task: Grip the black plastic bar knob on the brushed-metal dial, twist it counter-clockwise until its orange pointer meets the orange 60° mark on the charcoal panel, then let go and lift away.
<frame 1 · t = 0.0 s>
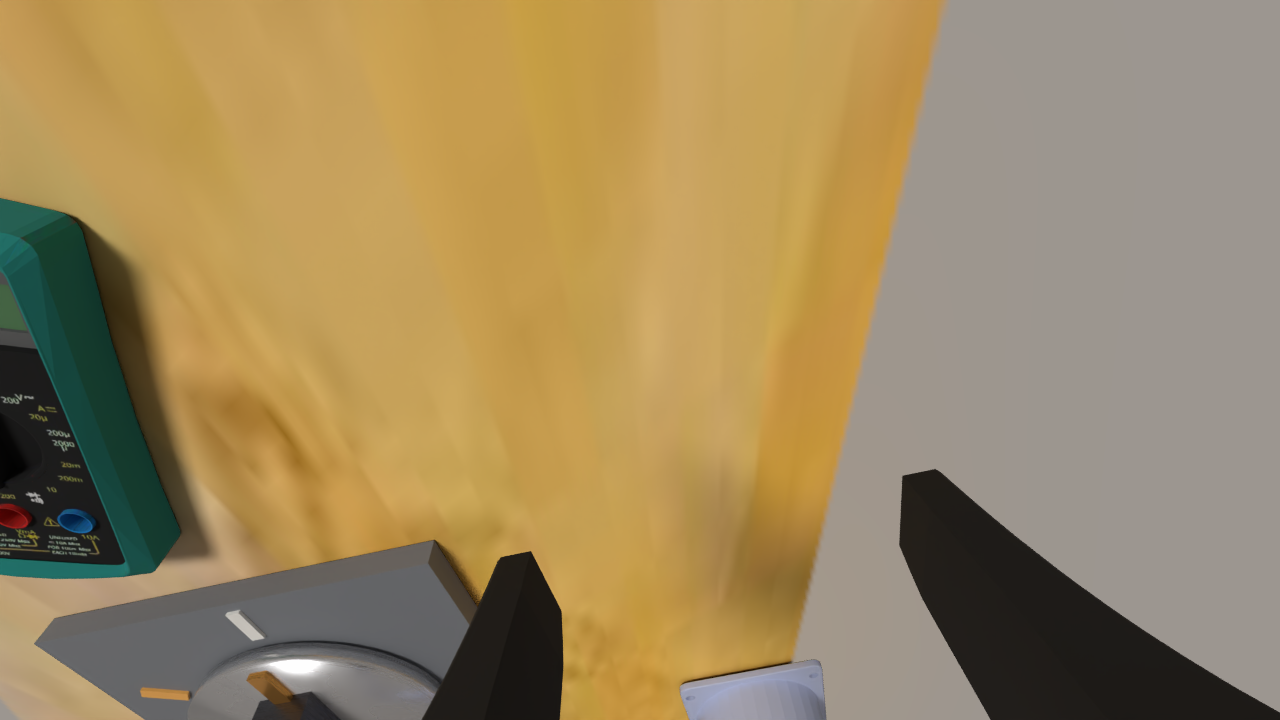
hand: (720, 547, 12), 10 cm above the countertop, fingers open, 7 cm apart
dial panel: (340, 681, 31), on the countertop
digital multimeter: (36, 381, 21), on the countertop
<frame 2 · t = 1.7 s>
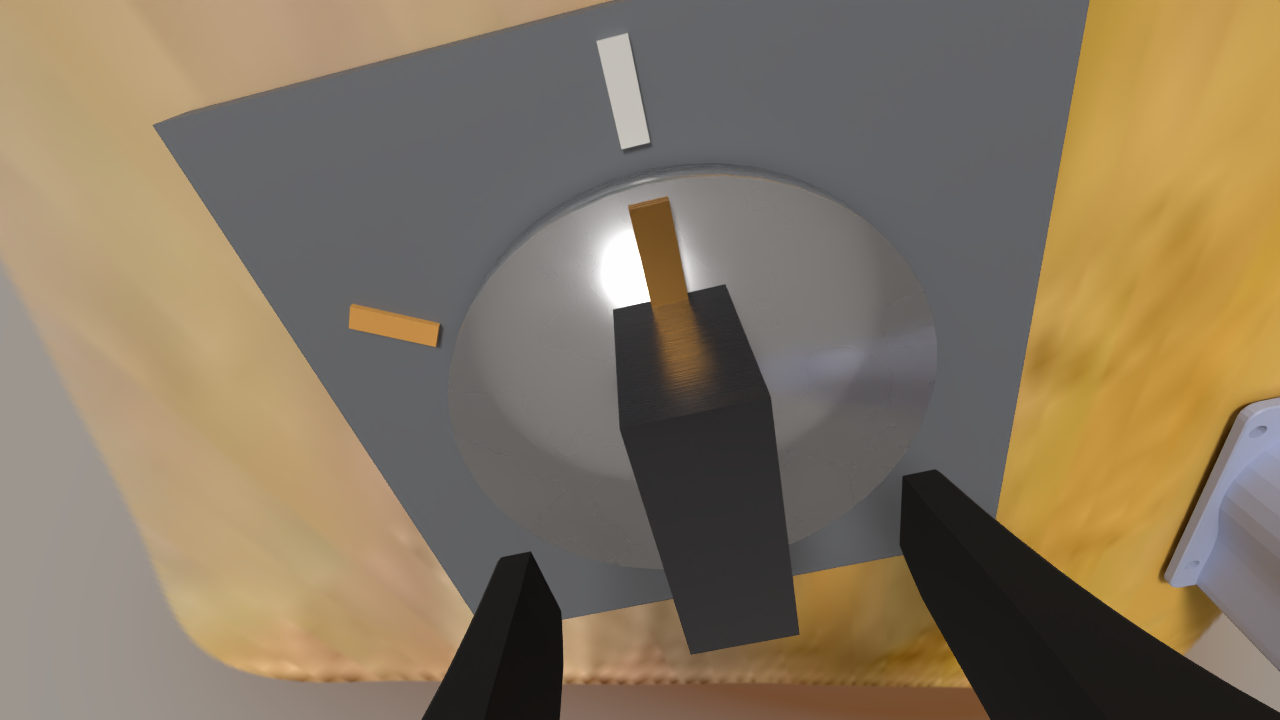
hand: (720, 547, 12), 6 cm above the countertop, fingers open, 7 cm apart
dial: (704, 459, 14), point 4 cm above the countertop, hinge at 0.0°
dial panel: (683, 363, 17), on the countertop
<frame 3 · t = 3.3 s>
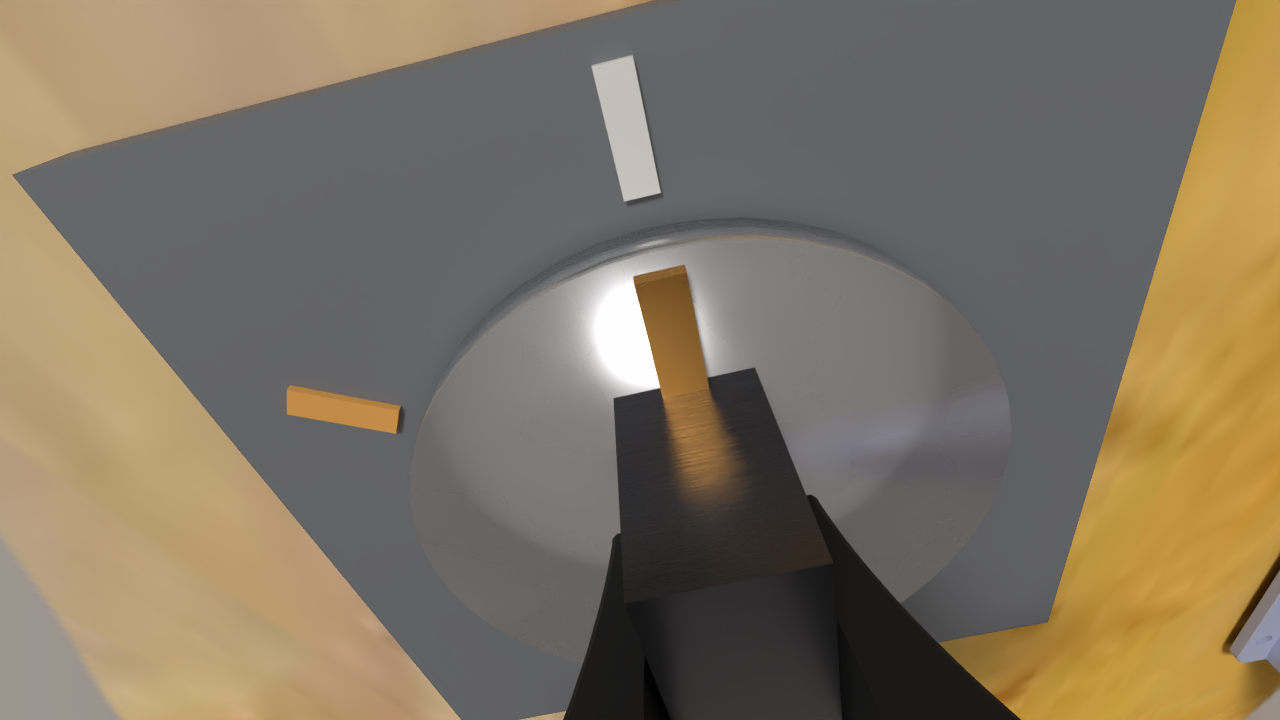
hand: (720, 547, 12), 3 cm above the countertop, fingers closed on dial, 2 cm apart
dial: (726, 578, 11), point 4 cm above the countertop, hinge at 0.0°, touching gripper
dial panel: (695, 437, 14), on the countertop
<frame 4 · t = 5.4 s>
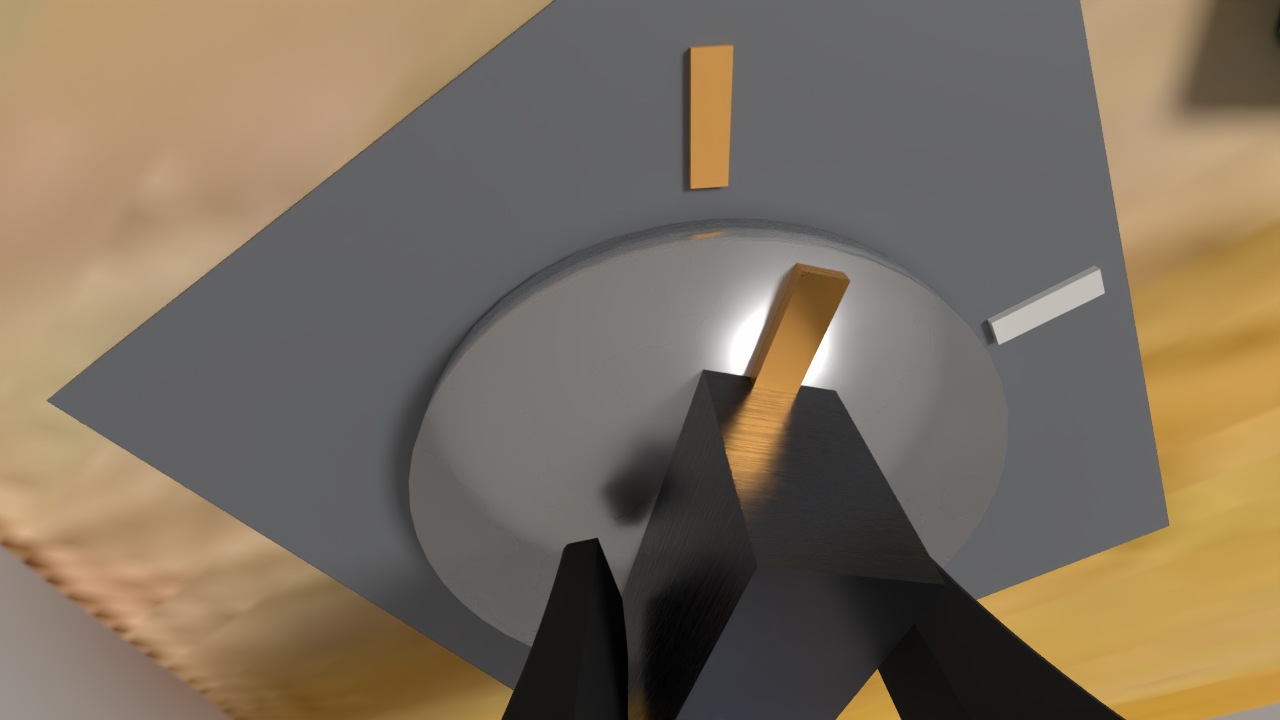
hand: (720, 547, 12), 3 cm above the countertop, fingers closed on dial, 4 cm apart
dial: (725, 577, 11), point 4 cm above the countertop, hinge at 43.9°, touching gripper
dial panel: (694, 437, 14), on the countertop
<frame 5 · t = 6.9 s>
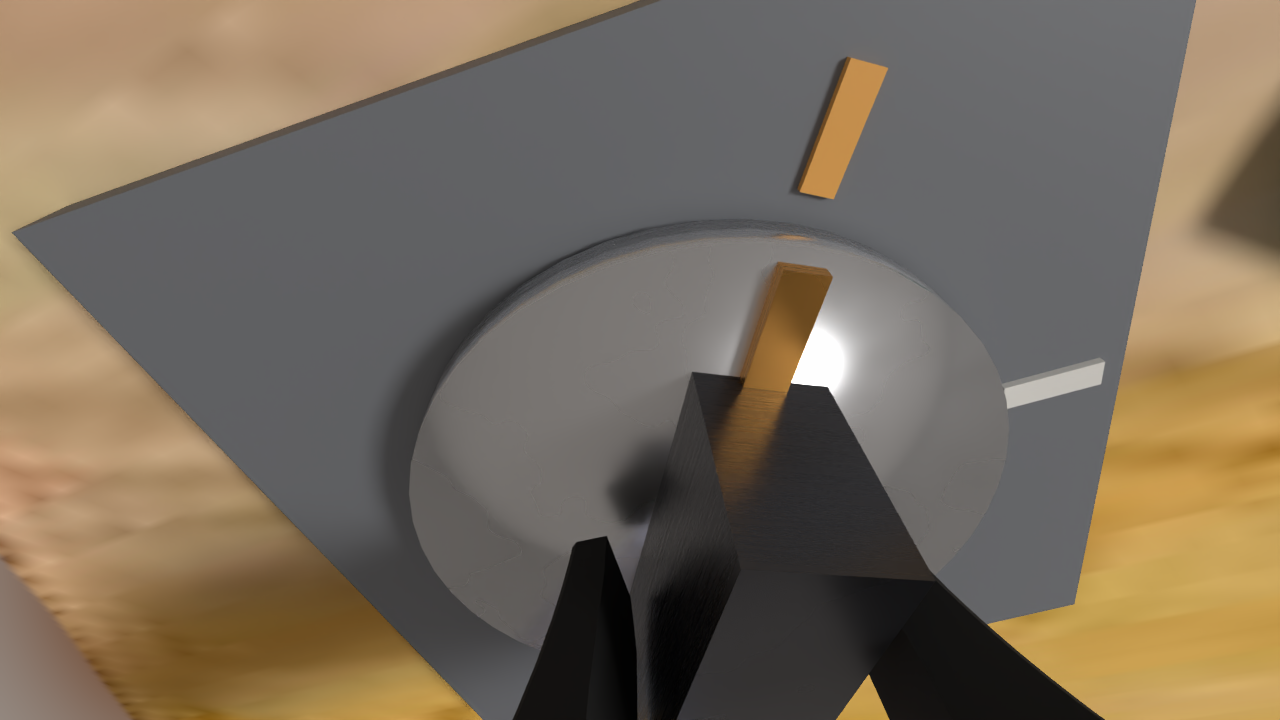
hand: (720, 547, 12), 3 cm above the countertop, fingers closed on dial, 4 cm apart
dial: (725, 578, 11), point 4 cm above the countertop, hinge at 62.7°, touching gripper
dial panel: (695, 438, 14), on the countertop
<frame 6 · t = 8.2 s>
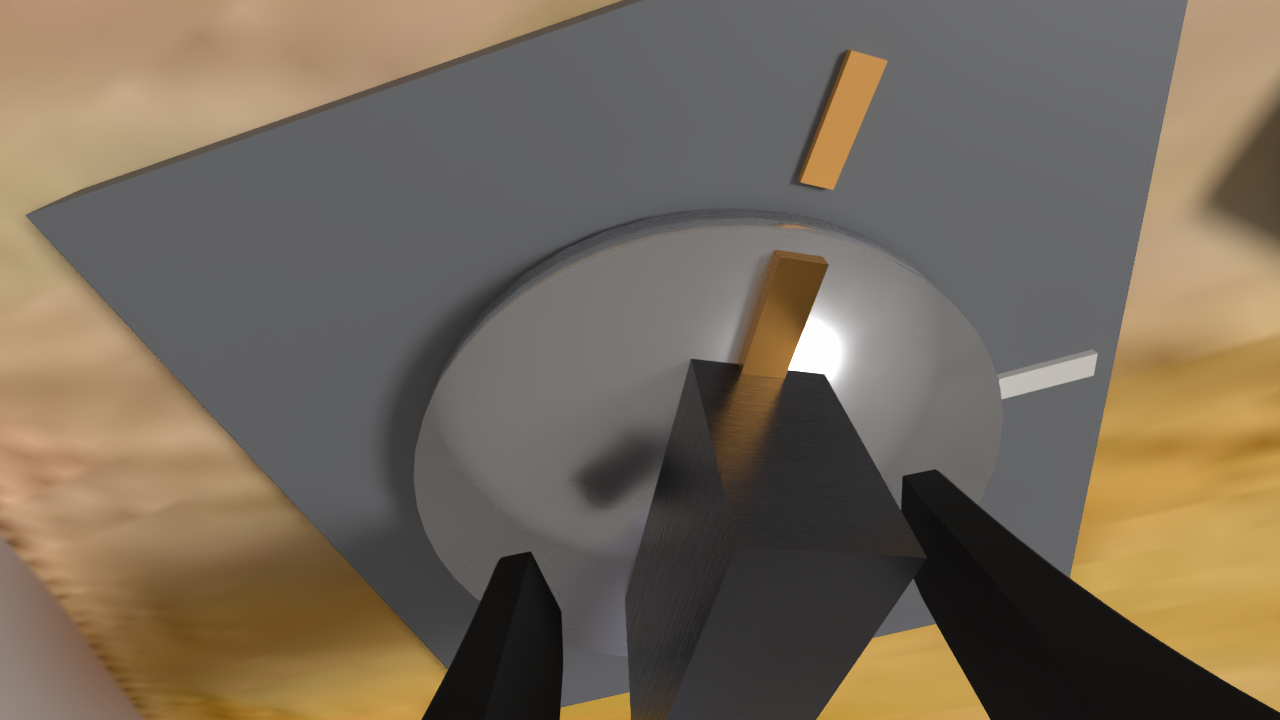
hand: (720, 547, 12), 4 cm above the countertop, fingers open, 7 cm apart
dial: (724, 562, 11), point 4 cm above the countertop, hinge at 63.2°
dial panel: (694, 427, 14), on the countertop
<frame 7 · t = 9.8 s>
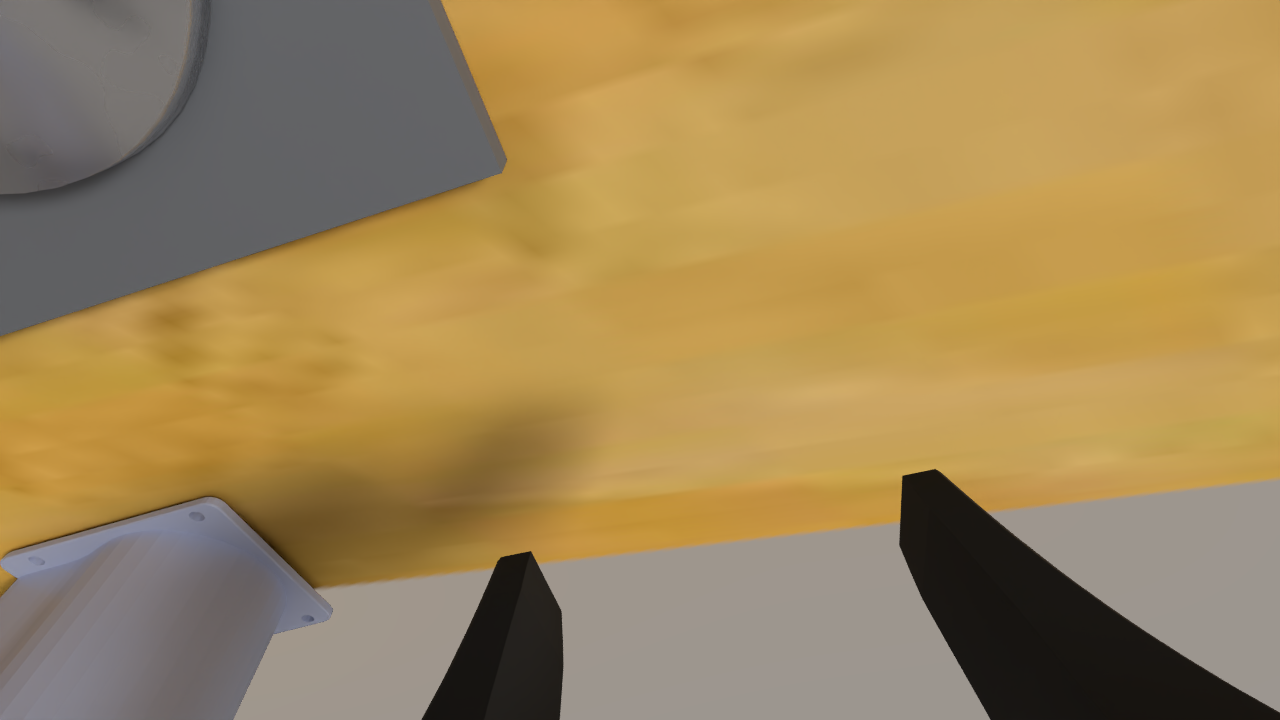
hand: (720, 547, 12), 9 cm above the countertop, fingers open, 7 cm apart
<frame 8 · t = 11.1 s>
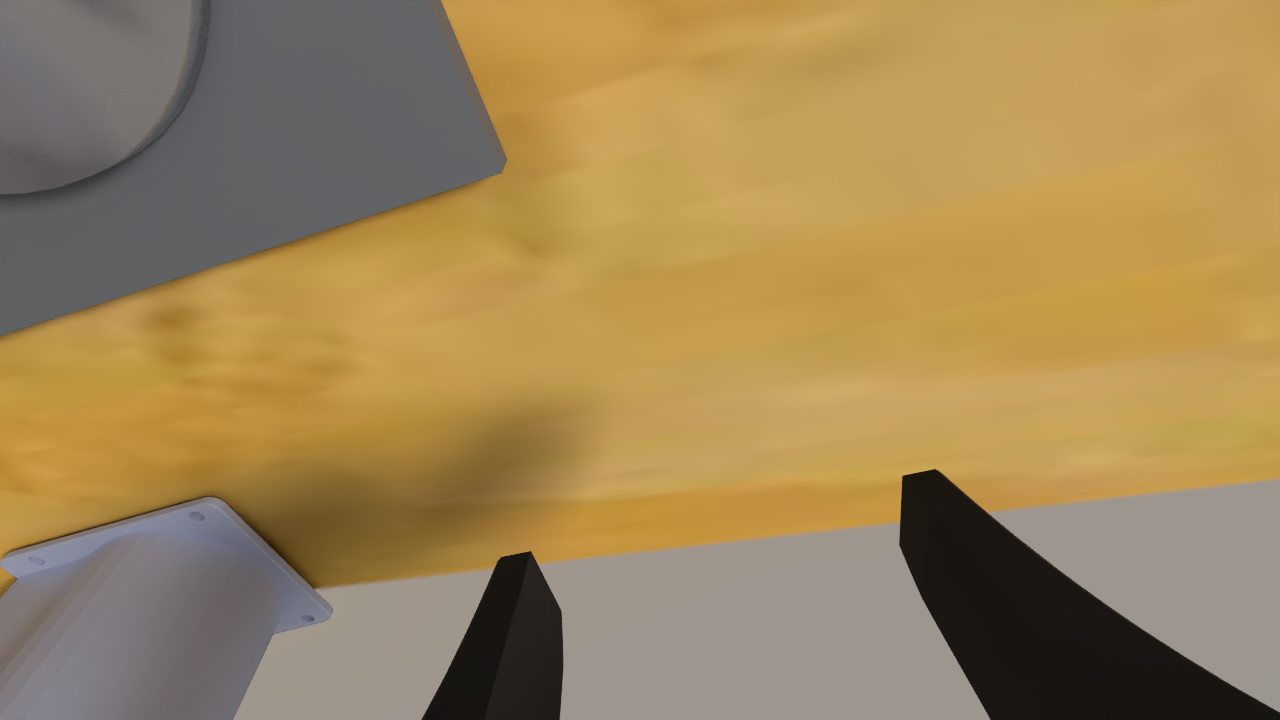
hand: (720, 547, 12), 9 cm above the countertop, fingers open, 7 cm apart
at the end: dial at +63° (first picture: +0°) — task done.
